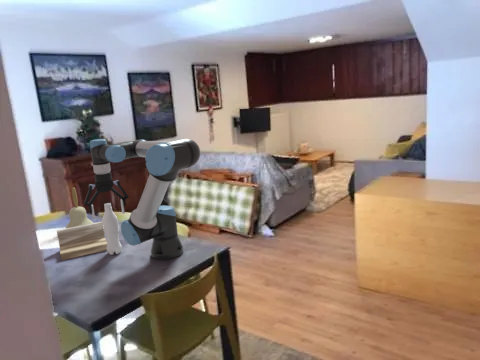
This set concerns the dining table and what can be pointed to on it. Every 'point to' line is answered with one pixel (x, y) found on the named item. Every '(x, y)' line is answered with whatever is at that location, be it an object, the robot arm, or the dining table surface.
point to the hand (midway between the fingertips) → (108, 215)
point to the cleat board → (81, 240)
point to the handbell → (77, 213)
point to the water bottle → (111, 230)
